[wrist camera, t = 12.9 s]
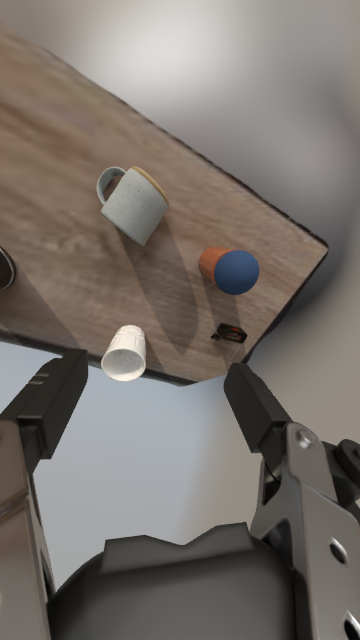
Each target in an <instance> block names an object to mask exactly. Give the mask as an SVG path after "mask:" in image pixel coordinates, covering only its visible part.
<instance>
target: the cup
mask: <svg viewBox="0 0 360 640" xmlns="http://www.w3.org/2000/svg"><path fill="white" fill-rule="evenodd" d="M231 251H235V250H233V249H227V248H221V247H211V248H208V249H207V250H205V251H204V252H203V254H202V255H201V257H200V260H199V268H200V271H201V273H202V274H203V275H204V276H205V277H206V278H208V279H209V280H210V281H211V282H212V283H214V284H215V285H216V282H215V279H214V270H215V266H216V264H217V262H218V261H219V259H220V258H221V257H222V256H224V255H225V254H226V253H228V252H231ZM216 286H217V285H216Z"/></svg>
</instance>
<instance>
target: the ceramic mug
mask: <svg viewBox="0 0 360 640" xmlns="http://www.w3.org/2000/svg"><path fill="white" fill-rule="evenodd" d="M117 175H121V176H123V177H122V179H121V181H120V182H119V184H118V186H117V187H116V189H115V190H114V192H113V193H112V195H111V196H110V197H109V199H108V201H107V202H106V201H105V199H104V190H105V188H106V186H107V185H108V183H109V182H110V181H111V180H112V179H113V177H114V176H117ZM97 194H98V197H99V199H100V201H101V203H102V204H103V208H102V210H101V213H102V214H103V215H104V216H105V217H106V218H107V219H108V220H109V221H111V222H112V223H113V224H114V225H115V226H117V227H118V228H119V229H120V230H121V231H123V232H124V233H125V234H126V235H128V236H129V237H130V238H131V239H132V240H134V241H135V242H137V243H138V244H139V245H141V246H144V245H145V244H146V242H147V241H148V239H149V238H150V236H151V235H152V233H153V232H154V230H155V228H156V227H157V225H158V224H159V222H160V221H161V219H162V218H163V216H164V215H165V213H166V211H167V208H168V205H169V202H168V198H167V196H166V194H165V193H164V192H163V190H162V189H161V188H160V186H159V185H158V184H157V183H156V182H155V181H154V180H153V179H152V178H151V177H150V176H149V175H148V174H147V173H146V172H145V171H143V170H142V169H140V168H138V167H132V168H130V169H129V170H128V171H127V172H126V171H125V170H123V169H121V168H119V167H111V168H108V169H107V170H105V171H104V172H103V173H102V174H101V176H100V178H99V180H98V182H97Z"/></svg>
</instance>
